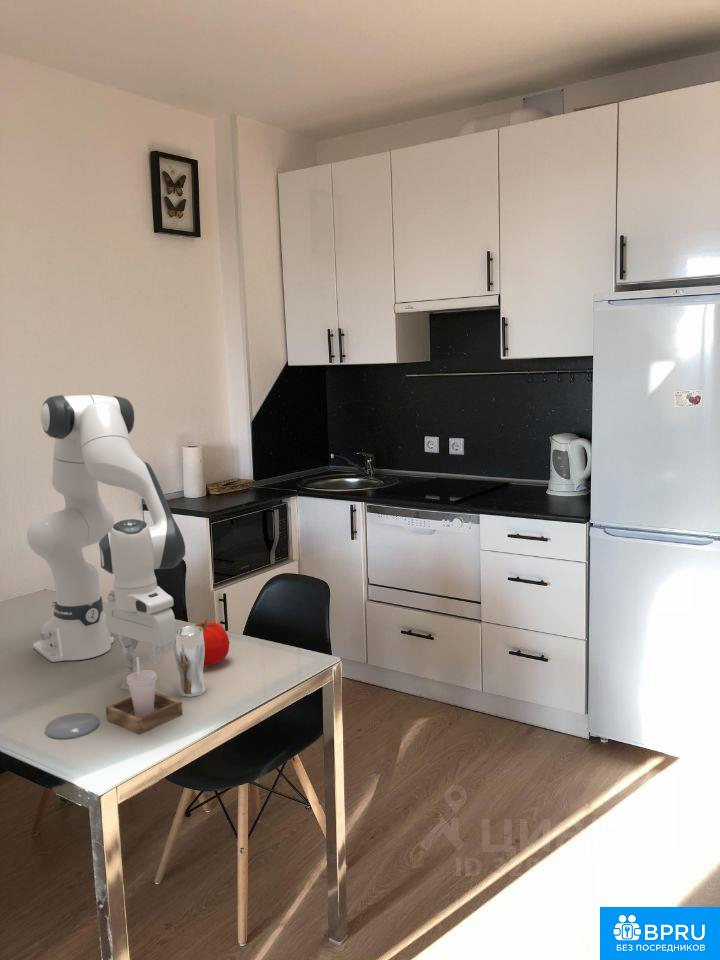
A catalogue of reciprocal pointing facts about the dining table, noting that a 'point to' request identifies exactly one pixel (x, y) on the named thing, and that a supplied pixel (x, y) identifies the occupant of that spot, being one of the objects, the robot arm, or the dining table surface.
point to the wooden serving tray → (140, 725)
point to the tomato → (214, 642)
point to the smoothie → (142, 690)
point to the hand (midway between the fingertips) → (142, 658)
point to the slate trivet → (72, 725)
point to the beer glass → (190, 660)
